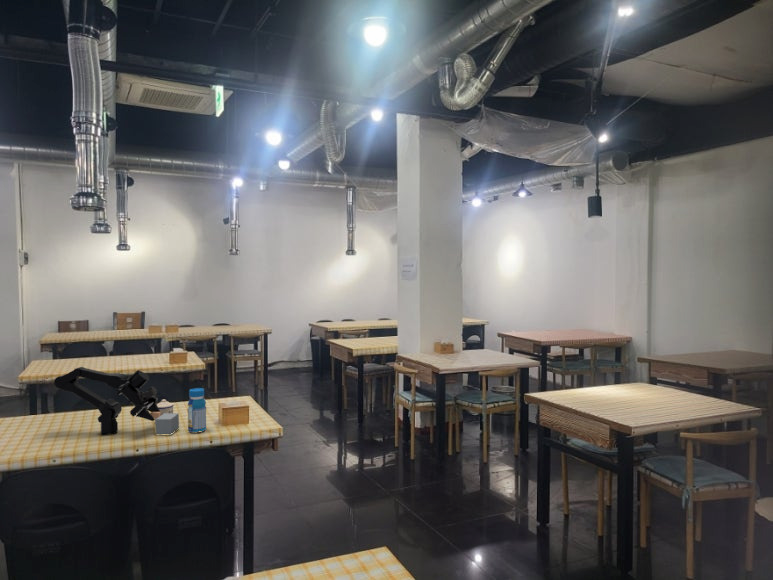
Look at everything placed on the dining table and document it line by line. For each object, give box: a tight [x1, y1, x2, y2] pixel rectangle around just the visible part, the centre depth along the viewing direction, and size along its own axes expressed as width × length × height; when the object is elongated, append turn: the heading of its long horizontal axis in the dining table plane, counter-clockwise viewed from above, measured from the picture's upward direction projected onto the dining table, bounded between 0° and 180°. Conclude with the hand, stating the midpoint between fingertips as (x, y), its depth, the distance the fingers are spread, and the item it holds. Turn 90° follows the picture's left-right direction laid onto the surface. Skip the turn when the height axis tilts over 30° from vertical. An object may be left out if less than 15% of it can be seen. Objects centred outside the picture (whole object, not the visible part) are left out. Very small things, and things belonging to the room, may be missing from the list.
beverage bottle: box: [187, 387, 207, 433], centre depth 248 cm, size 8×8×20 cm
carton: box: [155, 415, 180, 435], centre depth 246 cm, size 7×10×7 cm
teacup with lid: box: [154, 399, 174, 425], centre depth 264 cm, size 12×9×12 cm
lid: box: [149, 412, 179, 420], centre depth 246 cm, size 11×10×2 cm
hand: (157, 417), depth 246 cm, fingers open, 8 cm apart
